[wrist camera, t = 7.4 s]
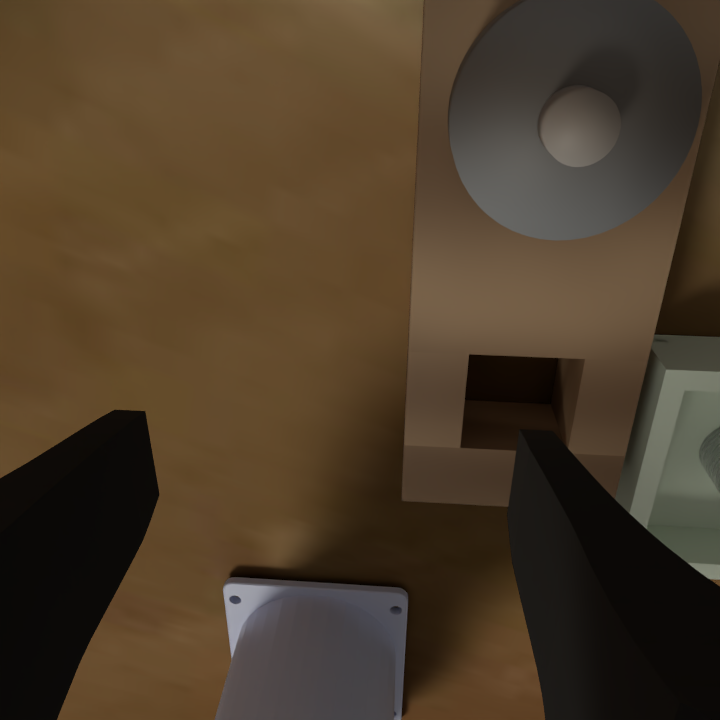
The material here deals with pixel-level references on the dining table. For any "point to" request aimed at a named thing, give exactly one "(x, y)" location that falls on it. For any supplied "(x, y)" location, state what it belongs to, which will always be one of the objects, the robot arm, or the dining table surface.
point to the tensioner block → (545, 222)
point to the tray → (676, 450)
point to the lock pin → (711, 457)
